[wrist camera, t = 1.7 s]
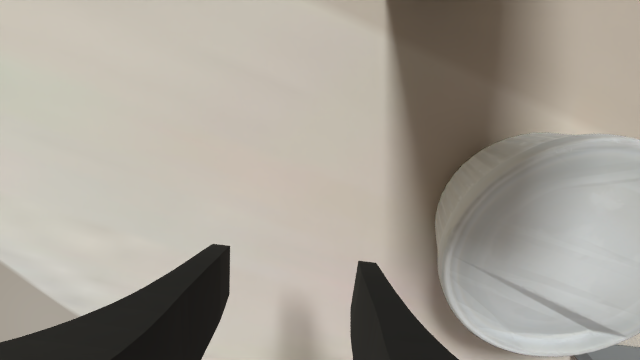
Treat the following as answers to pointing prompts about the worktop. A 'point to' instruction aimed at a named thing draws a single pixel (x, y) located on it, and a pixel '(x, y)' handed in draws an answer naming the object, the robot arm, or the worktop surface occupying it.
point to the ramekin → (544, 243)
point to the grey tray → (612, 353)
